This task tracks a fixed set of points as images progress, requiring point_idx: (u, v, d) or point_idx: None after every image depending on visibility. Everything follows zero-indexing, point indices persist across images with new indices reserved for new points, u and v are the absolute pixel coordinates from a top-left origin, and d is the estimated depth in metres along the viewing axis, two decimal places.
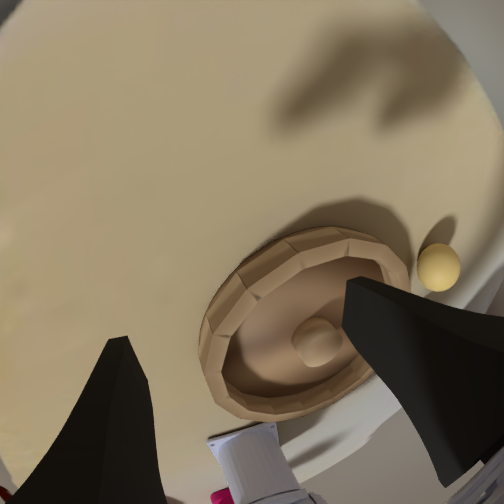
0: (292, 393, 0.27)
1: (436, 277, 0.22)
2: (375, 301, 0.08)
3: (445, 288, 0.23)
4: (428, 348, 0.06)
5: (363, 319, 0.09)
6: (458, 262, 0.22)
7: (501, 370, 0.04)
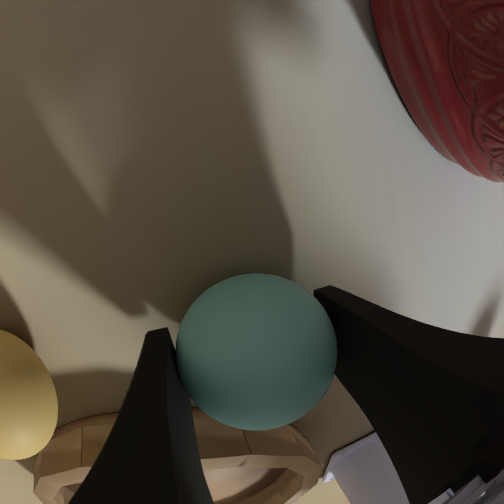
0: (283, 469, 0.17)
1: None
2: (341, 314, 0.08)
3: (24, 452, 0.05)
4: (394, 368, 0.06)
5: None
6: None
7: (471, 400, 0.04)
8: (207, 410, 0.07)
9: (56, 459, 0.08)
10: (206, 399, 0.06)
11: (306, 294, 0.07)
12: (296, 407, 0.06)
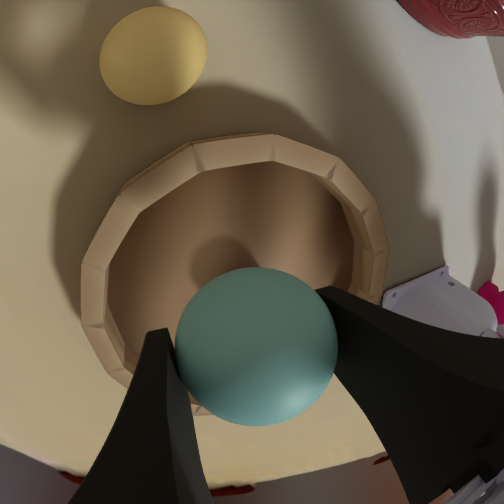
0: (345, 288, 0.21)
1: (151, 93, 0.09)
2: (341, 314, 0.08)
3: (183, 56, 0.09)
4: (394, 368, 0.06)
5: None
6: (119, 34, 0.07)
7: (471, 400, 0.04)
8: (205, 403, 0.06)
9: (150, 169, 0.12)
10: (205, 391, 0.06)
11: (308, 289, 0.07)
12: (296, 402, 0.06)
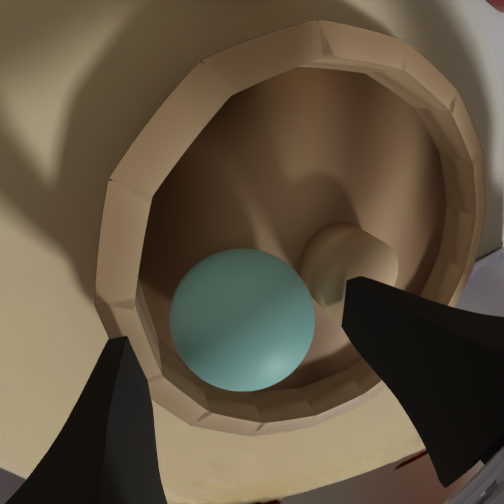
0: (433, 262, 0.15)
1: None
2: (375, 301, 0.08)
3: None
4: (428, 348, 0.06)
5: (363, 319, 0.09)
6: None
7: (501, 371, 0.04)
8: (195, 366, 0.08)
9: None
10: (195, 354, 0.07)
11: (287, 266, 0.09)
12: (275, 365, 0.07)
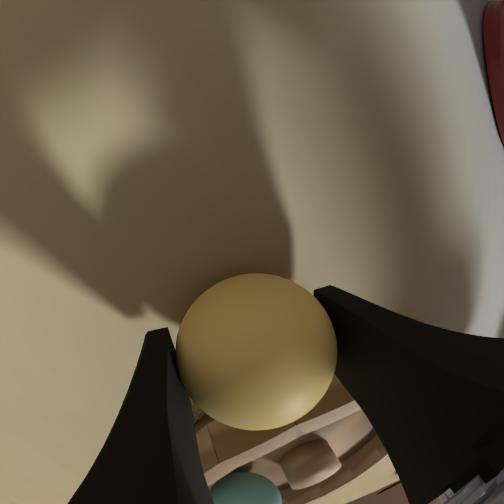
0: None
1: None
2: (341, 314, 0.08)
3: (317, 401, 0.07)
4: (394, 368, 0.06)
5: None
6: (229, 397, 0.06)
7: (471, 400, 0.04)
8: None
9: (245, 433, 0.10)
10: None
11: (267, 493, 0.12)
12: None
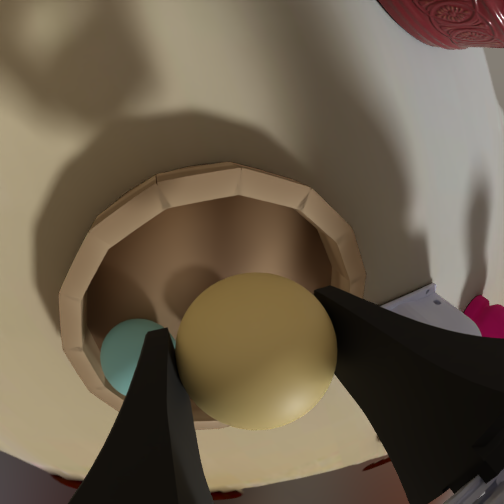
0: None
1: None
2: (341, 314, 0.08)
3: (318, 401, 0.07)
4: (394, 368, 0.06)
5: None
6: (229, 397, 0.06)
7: (471, 401, 0.04)
8: (110, 383, 0.13)
9: (118, 205, 0.12)
10: (108, 377, 0.13)
11: None
12: None
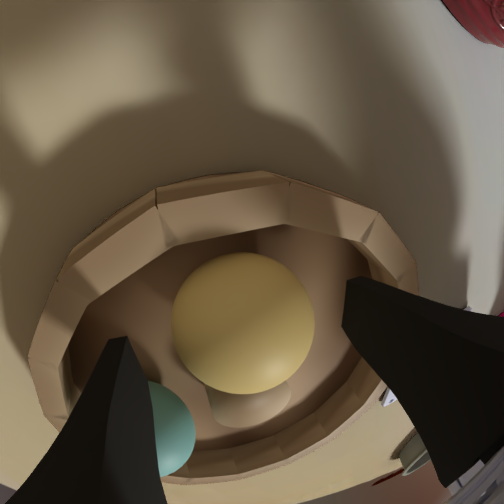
0: None
1: None
2: (375, 301, 0.08)
3: (297, 367, 0.08)
4: (428, 348, 0.06)
5: (363, 319, 0.09)
6: (216, 356, 0.07)
7: (501, 370, 0.04)
8: None
9: (98, 238, 0.08)
10: None
11: (163, 407, 0.10)
12: None
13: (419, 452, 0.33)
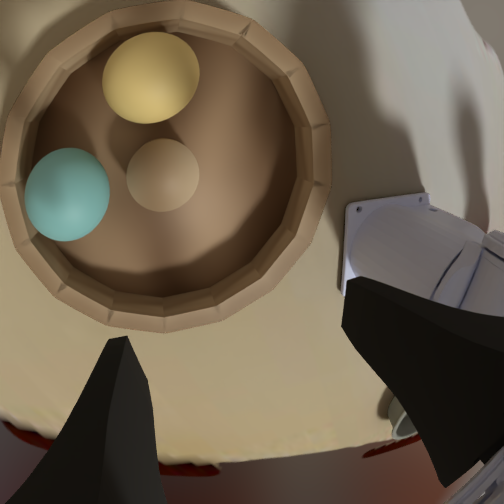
0: (290, 184, 0.18)
1: (149, 113, 0.11)
2: (375, 301, 0.08)
3: (177, 81, 0.10)
4: (428, 348, 0.06)
5: (363, 320, 0.09)
6: (119, 60, 0.09)
7: (501, 370, 0.04)
8: (26, 211, 0.10)
9: None
10: (25, 200, 0.10)
11: (84, 153, 0.11)
12: (53, 202, 0.10)
13: None
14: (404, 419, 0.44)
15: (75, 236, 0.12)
